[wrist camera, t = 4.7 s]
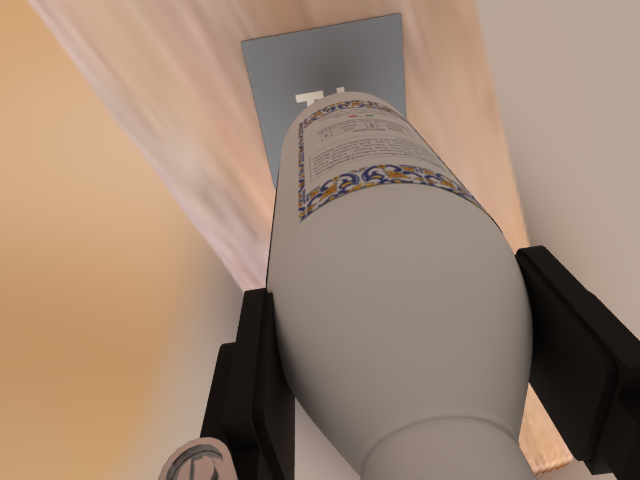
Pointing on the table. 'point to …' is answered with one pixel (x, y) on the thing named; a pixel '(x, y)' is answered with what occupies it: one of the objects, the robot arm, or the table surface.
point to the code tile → (322, 72)
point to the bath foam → (396, 300)
